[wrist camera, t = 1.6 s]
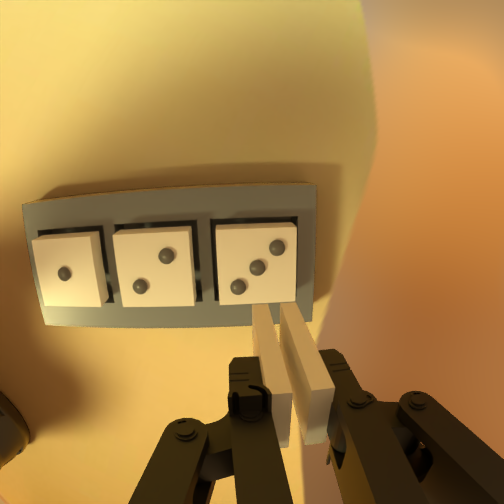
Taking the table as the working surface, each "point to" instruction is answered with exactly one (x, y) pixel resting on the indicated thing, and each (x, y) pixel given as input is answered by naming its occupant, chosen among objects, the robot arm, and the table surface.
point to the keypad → (203, 239)
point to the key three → (256, 262)
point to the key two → (155, 266)
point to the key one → (71, 269)
